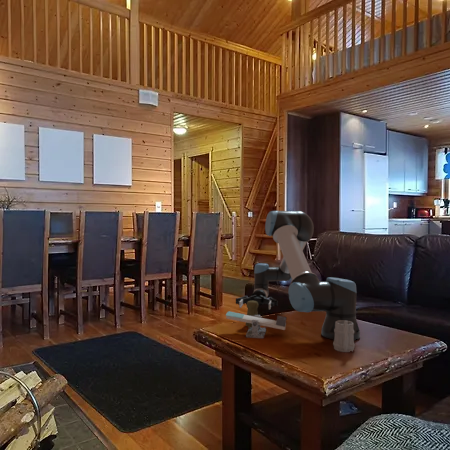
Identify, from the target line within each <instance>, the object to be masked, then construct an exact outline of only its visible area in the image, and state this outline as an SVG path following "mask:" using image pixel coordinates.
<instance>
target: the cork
mask: <svg viewBox="0 0 450 450" xmlns="http://www.w3.org/2000/svg"><path fill="white" fill-rule="evenodd" d="M246 308H247V311H246V315H249V316H254V317H255V315H259V314H258V308H259V305H258V302H257V301H248V302H247V303H246ZM245 325H246V326H248V327H247V328H249V327H252V323H247V322H245ZM246 326H245V327H246Z"/></svg>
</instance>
